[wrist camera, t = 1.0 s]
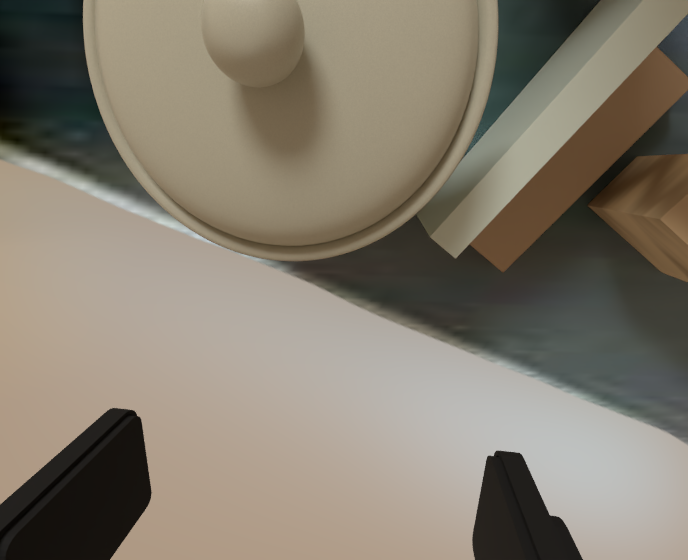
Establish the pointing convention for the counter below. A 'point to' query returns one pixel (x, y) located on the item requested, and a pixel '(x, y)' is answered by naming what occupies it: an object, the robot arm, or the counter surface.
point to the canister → (291, 111)
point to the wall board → (561, 131)
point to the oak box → (651, 210)
